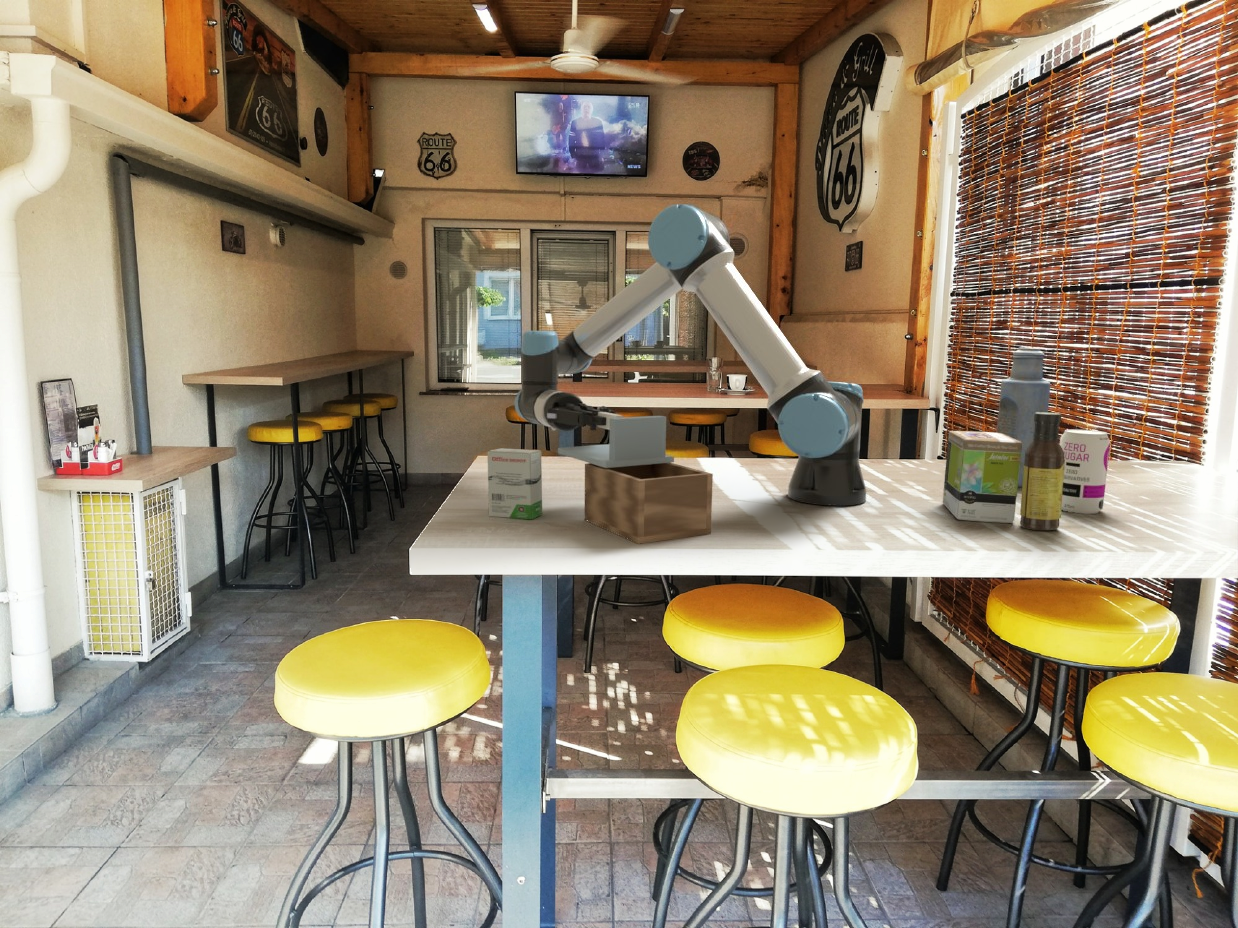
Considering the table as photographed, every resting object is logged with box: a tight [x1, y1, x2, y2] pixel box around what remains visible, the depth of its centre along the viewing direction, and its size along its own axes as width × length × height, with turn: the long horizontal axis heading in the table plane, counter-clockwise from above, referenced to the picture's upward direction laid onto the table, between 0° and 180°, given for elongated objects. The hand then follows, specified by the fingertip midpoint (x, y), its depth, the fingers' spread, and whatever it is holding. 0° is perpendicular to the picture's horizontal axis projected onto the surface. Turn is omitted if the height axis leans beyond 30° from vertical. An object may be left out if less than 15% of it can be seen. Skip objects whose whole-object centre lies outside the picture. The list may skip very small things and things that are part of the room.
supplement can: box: [1059, 429, 1111, 515], centre depth 157 cm, size 8×8×15 cm
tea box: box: [942, 430, 1022, 524], centre depth 153 cm, size 15×10×15 cm
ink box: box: [486, 447, 543, 520], centre depth 147 cm, size 9×5×12 cm, turn 71°
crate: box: [584, 462, 714, 545], centre depth 140 cm, size 18×14×10 cm
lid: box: [557, 415, 675, 468], centre depth 148 cm, size 18×14×8 cm
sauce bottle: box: [1019, 412, 1065, 531], centre depth 142 cm, size 6×6×20 cm
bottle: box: [996, 346, 1051, 488], centre depth 182 cm, size 10×10×30 cm
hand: (619, 423), depth 146 cm, fingers closed
